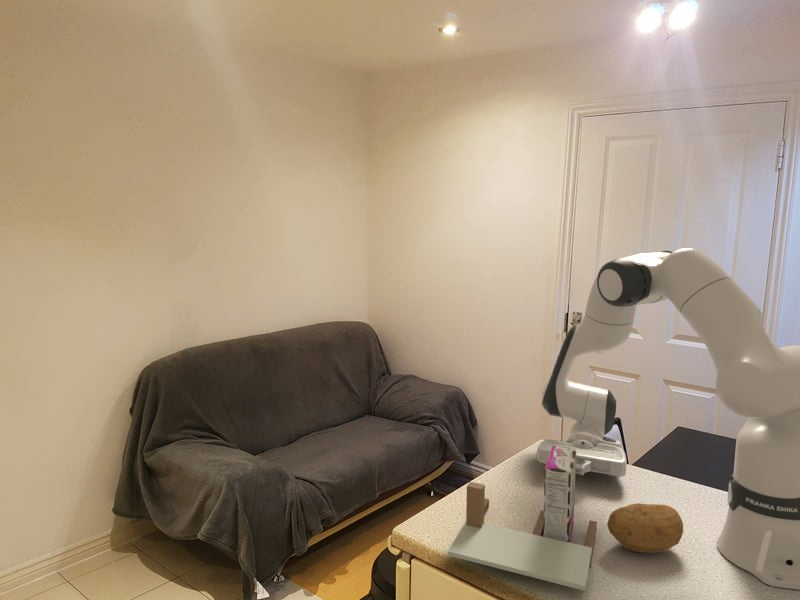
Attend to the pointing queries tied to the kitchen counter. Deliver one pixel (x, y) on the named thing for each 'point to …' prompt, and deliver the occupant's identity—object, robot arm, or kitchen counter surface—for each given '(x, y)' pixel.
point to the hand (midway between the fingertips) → (577, 471)
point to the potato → (646, 527)
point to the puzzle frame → (540, 528)
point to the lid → (518, 548)
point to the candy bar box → (559, 493)
